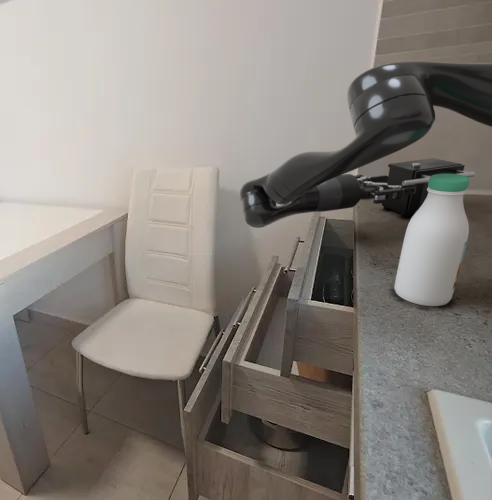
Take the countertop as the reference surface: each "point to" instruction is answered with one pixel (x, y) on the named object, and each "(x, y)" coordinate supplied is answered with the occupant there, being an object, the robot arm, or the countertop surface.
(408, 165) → the black box with rod
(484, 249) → the countertop surface
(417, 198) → the oven door
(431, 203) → the milk bottle
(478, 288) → the countertop surface
